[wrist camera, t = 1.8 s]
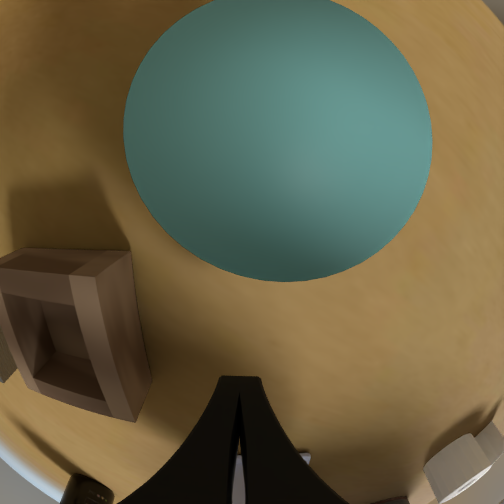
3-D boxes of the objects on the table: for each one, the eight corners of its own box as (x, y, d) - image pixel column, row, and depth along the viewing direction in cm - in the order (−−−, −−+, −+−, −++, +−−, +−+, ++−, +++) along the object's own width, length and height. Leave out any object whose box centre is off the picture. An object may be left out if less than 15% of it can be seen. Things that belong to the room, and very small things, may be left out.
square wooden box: (152, 380, 14) (135, 422, 11) (52, 358, 14) (27, 387, 10) (130, 251, 12) (94, 276, 8) (22, 247, 12) (-16, 265, 8)
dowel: (297, 205, 12) (418, 280, 3) (214, 202, 12) (127, 276, 3) (300, 124, 11) (417, 24, 2) (216, 121, 11) (144, -2, 2)
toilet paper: (491, 420, 20) (512, 448, 13) (434, 470, 22) (449, 500, 15) (481, 412, 18) (506, 446, 11) (413, 469, 20) (430, 506, 14)
